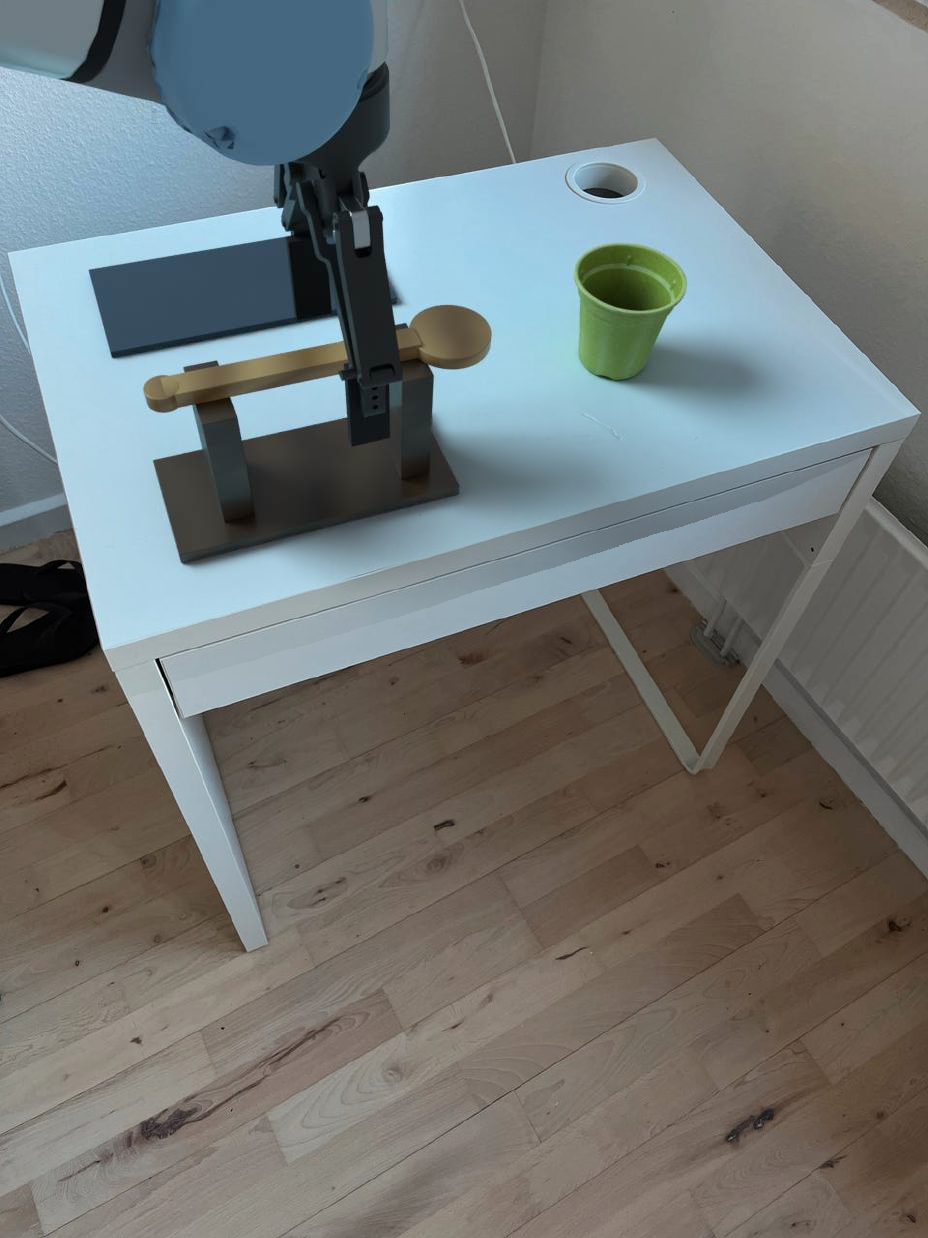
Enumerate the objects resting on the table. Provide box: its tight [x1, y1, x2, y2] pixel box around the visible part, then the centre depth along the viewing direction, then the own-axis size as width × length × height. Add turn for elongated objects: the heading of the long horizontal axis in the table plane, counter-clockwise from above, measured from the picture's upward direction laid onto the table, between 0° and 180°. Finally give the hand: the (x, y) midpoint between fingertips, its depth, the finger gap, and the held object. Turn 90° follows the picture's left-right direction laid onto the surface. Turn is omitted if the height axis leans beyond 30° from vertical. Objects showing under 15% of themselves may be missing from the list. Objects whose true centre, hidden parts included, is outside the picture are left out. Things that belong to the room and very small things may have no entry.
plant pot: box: [573, 242, 688, 381], centre depth 81 cm, size 9×9×9 cm
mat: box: [88, 236, 398, 358], centre depth 87 cm, size 26×12×1 cm, turn 111°
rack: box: [152, 322, 461, 564], centre depth 70 cm, size 22×10×11 cm, turn 111°
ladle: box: [142, 304, 493, 414], centre depth 65 cm, size 25×6×1 cm, turn 111°
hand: (339, 373), depth 67 cm, fingers open, 13 cm apart
